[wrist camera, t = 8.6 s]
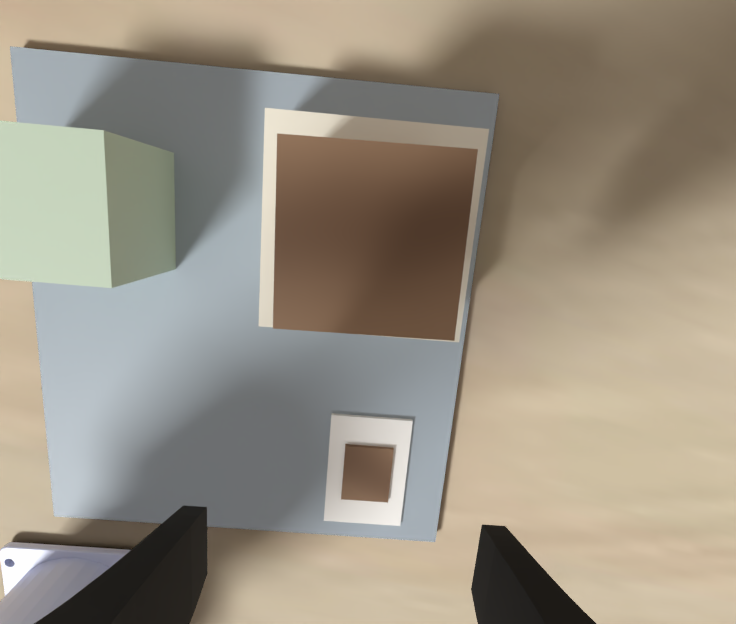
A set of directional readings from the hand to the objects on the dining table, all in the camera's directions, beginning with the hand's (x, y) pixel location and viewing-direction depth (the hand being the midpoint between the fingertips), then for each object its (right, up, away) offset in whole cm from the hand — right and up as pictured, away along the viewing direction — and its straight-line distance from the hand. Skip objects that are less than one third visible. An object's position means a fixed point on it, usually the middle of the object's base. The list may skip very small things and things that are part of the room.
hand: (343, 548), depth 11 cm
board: (-5, +5, +9) cm, 12 cm away
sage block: (-10, +11, +8) cm, 17 cm away
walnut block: (+1, +9, +5) cm, 10 cm away
